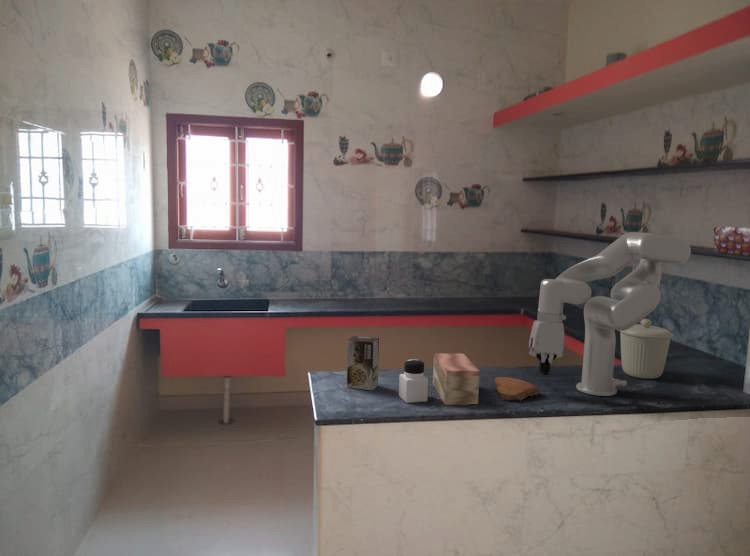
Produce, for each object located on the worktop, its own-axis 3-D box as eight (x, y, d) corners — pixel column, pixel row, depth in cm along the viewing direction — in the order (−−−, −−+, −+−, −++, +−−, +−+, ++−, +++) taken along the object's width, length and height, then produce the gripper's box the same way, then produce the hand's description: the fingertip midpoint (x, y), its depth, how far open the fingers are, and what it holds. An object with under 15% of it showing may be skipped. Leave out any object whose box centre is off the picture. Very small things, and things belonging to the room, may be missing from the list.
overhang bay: (461, 383, 194) (463, 353, 192) (477, 404, 173) (479, 371, 172) (432, 383, 193) (434, 353, 192) (445, 404, 172) (446, 370, 171)
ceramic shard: (477, 378, 184) (500, 375, 195) (477, 398, 183) (500, 395, 194) (519, 381, 174) (541, 379, 185) (519, 403, 174) (541, 399, 185)
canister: (635, 383, 201) (640, 324, 198) (605, 369, 218) (609, 314, 216) (680, 381, 205) (686, 323, 202) (646, 368, 222) (651, 314, 220)
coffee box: (378, 385, 189) (380, 337, 187) (372, 391, 183) (374, 341, 181) (352, 382, 192) (353, 335, 190) (345, 387, 186) (347, 339, 184)
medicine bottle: (428, 401, 174) (429, 363, 173) (405, 403, 172) (407, 364, 171) (419, 394, 181) (421, 357, 180) (398, 395, 179) (399, 358, 178)
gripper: (567, 317, 187) (561, 371, 189) (522, 314, 185) (517, 369, 187) (577, 321, 179) (571, 378, 181) (530, 318, 178) (525, 376, 180)
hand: (543, 373), depth 184 cm, fingers closed
